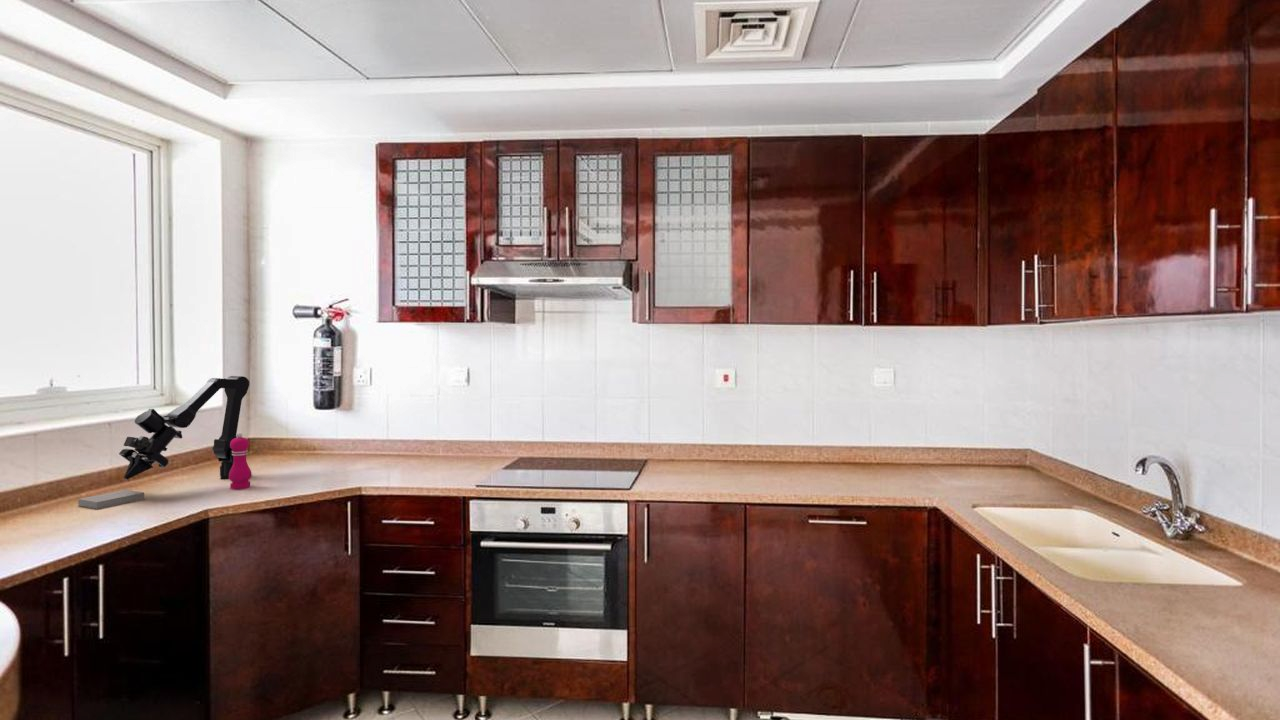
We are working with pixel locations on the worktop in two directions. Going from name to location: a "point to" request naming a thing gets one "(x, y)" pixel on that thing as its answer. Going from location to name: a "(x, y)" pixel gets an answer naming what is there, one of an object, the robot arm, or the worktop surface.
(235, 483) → the pepper mill
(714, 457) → the worktop surface
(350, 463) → the worktop surface
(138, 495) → the tile
